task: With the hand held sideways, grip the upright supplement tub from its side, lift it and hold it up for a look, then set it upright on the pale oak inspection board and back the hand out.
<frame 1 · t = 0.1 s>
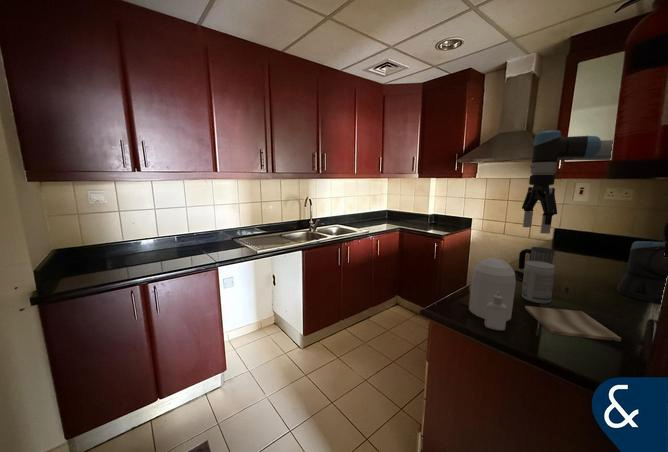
hand: (535, 230, 103), 28 cm above the counter, tool pointing down, fingers open, 13 cm apart
inspection board: (567, 323, 89), on the counter
eye dropper bottle: (494, 328, 86), on the counter
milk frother: (531, 279, 129), on the counter
container: (489, 312, 96), on the counter
supplement tub: (535, 299, 107), on the counter
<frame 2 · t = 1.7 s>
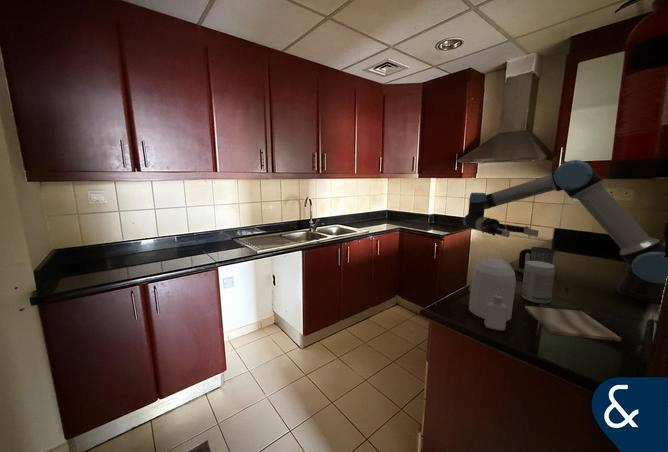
hand: (523, 234, 112), 25 cm above the counter, tool horizontal, fingers open, 13 cm apart
nothing on the counter moved.
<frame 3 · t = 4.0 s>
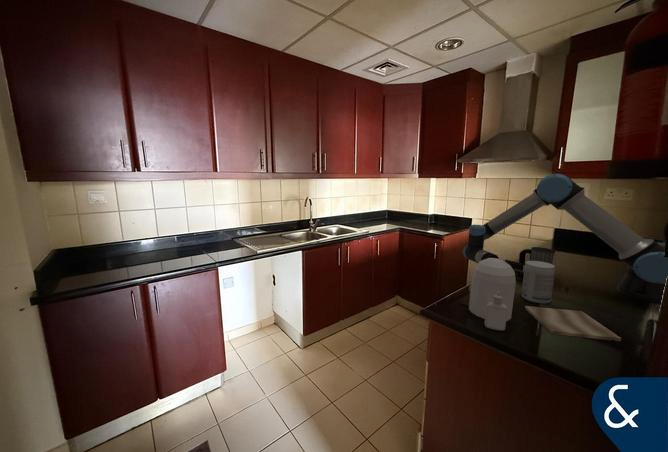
hand: (522, 274, 113), 8 cm above the counter, tool horizontal, fingers open, 13 cm apart
nothing on the counter moved.
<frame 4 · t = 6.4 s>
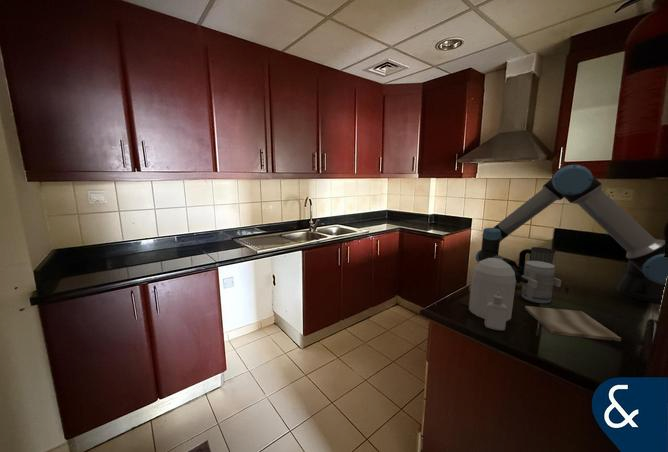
hand: (548, 284, 101), 8 cm above the counter, tool horizontal, fingers closed on supplement tub, 9 cm apart
supplement tub: (535, 299, 107), on the counter, touching gripper
everything else where it was.
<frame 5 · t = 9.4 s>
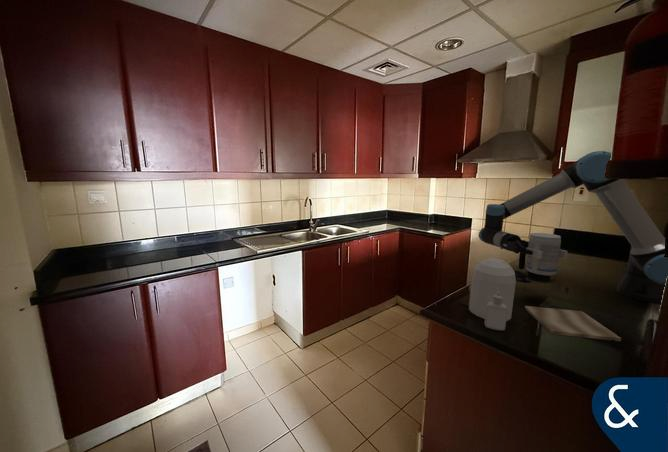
hand: (553, 255, 98), 20 cm above the counter, tool horizontal, fingers closed on supplement tub, 9 cm apart
supplement tub: (540, 272, 104), point 12 cm above the counter, touching gripper
everything else where it was.
when the fingers open (10 cm above the counter, at t = 12.7 s): supplement tub drops 1 cm, resting on inspection board.
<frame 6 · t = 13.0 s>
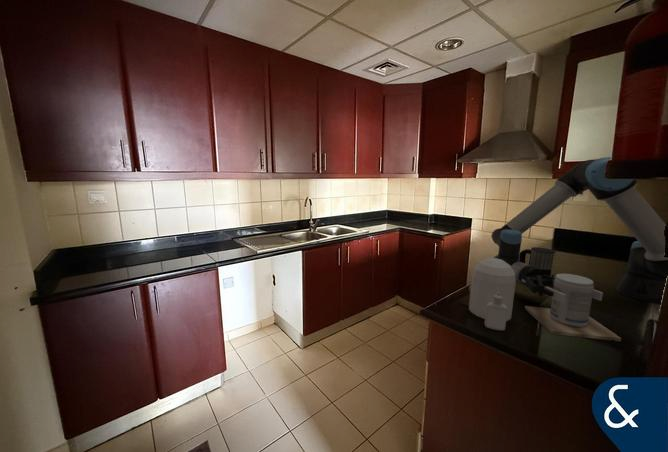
hand: (583, 297, 84), 10 cm above the counter, tool horizontal, fingers open, 13 cm apart
supplement tub: (567, 320, 89), point 1 cm above the counter, touching inspection board
everything else where it was.
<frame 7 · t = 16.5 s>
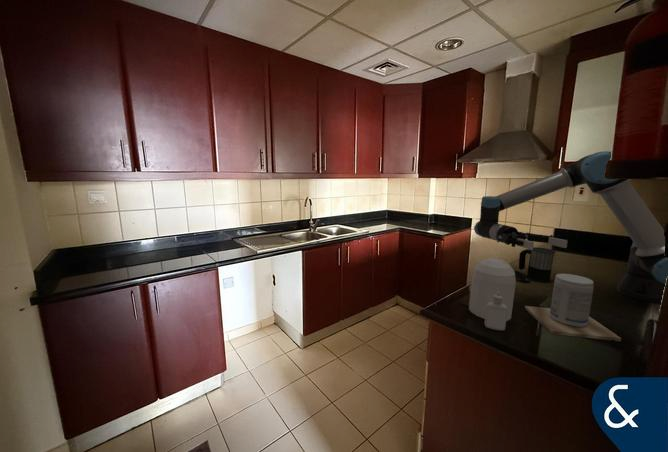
hand: (549, 245, 94), 24 cm above the counter, tool horizontal, fingers open, 13 cm apart
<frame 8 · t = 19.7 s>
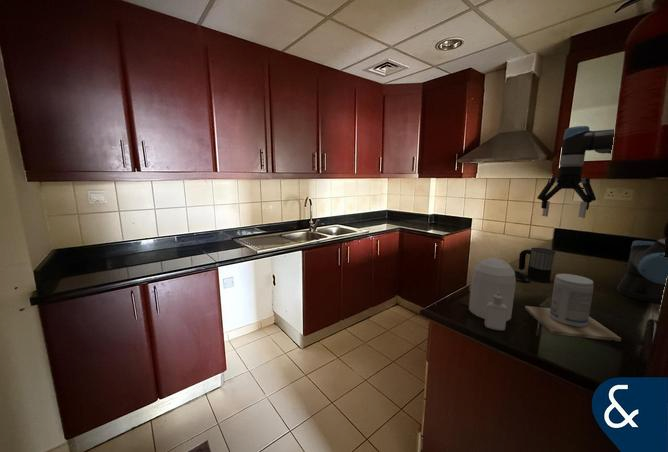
hand: (562, 216, 114), 32 cm above the counter, tool pointing down, fingers open, 13 cm apart
at the end: supplement tub inside the target area on the inspection board (0.1 cm from its centre), point 0.8 cm above the inspection board's base; supplement tub tilted 0°; the gripper is holding nothing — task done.
